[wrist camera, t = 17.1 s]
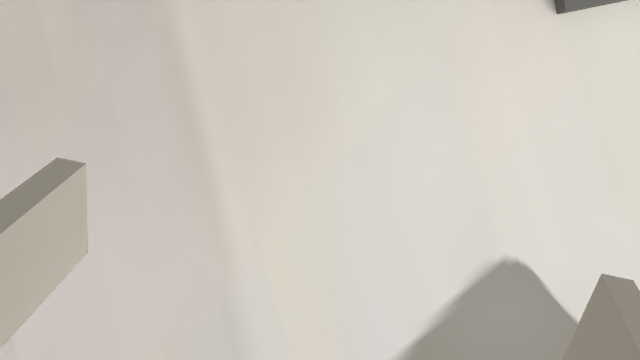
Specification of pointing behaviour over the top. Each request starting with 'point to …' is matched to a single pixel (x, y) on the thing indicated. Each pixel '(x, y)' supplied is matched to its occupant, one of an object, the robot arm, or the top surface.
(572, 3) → the mat
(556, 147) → the top surface
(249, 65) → the top surface
